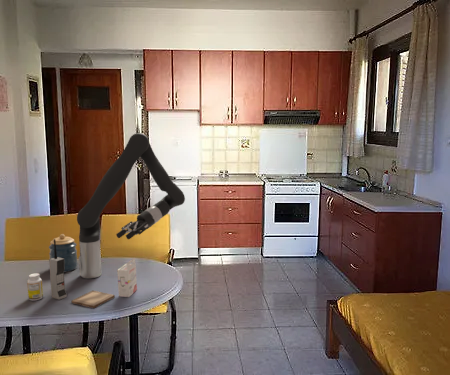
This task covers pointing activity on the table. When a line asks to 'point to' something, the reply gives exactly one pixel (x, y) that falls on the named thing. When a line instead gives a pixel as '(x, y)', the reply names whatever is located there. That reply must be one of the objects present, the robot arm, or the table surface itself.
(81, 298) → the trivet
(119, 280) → the ink cartridge box
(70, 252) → the canister
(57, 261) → the vintage mobile phone
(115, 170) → the robot arm
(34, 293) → the supplement bottle
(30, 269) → the table surface
